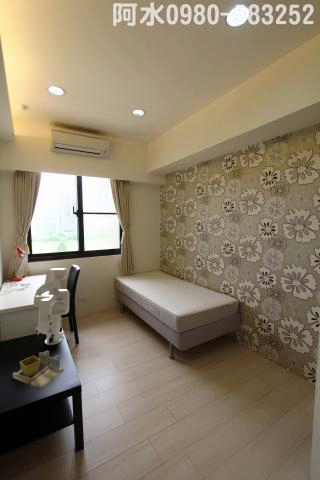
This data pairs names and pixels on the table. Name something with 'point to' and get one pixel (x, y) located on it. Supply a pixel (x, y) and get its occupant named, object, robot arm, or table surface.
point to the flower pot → (30, 366)
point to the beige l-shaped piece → (49, 372)
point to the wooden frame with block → (43, 361)
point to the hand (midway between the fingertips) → (45, 341)
